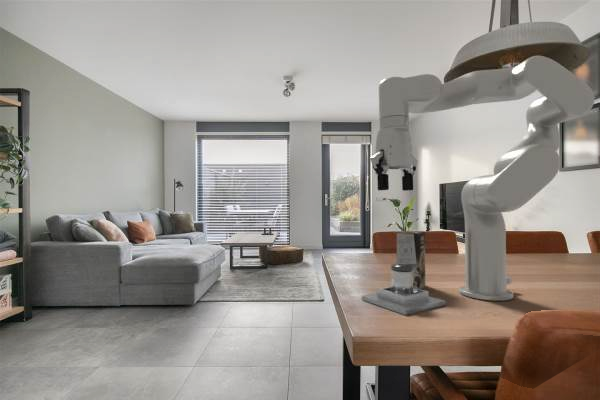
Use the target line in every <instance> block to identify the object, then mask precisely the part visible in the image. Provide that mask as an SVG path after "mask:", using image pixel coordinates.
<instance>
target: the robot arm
mask: <svg viewBox="0 0 600 400" xmlns="http://www.w3.org/2000/svg"><path fill="white" fill-rule="evenodd" d="M440 79H441V78H439V77H438V76H436V75H434V74H431V73H425V74H424V73H423V74H418V75H414V76H413V75H412V76H407V77H402V76H390V77H387V78H384V79H383V80H381V81H380V83H379V84H378V109H379V110H378V114H379V115H378V116H379V130H378V131H377V134H376V139H375V153H374V154H373V155H371V157H370V158H369V159H370V162H371V165H372V169H373V170H374V172H375V175H376V176H377V177H376V178H377V191H388V190H390V189H389V188H390V185H389V183H390V182H389V174H388V171H389V170H400V172H401V173H402V176H401V182H402V183H401V184H402V187H401V188H402V191H403V192H404V191H413V190H414V176H415V172H416V170H417V166H418V160H417V158H416V157H414V156H413V147H412V146H413V145H412V138H411V133H410V118H409V117H410V114H426V113H434V112H441V111H447V110H452V109H457V108H463V107H467V106H468V107H469V106H471V105H478V104H479V105H481V104H491V103H499V102H511V101H517V100H522V99H524V98H526V97H528V96H532V95H533V94H535V93H537V92H538V93H540V94H541V96H539V97H537V98H536V99H535V100H533V101H532V102H531V103H530V104H529V106H528V107H527V110H526V115H525V118H526V119H525V120H526V126H527V128H526V129H527V130H526V133H525V135H524V136H523V137H522V138H521V139H520V140H519V141H517V142H516V143H515V144H514V145H513V146H511V147H510V149H508V150H507V151H506V152H505V153H503V154H502V155H501V156H500V157H499V158H498V159H497V161H496V162H495V164H494V166H493V174H487V175H480V176H479V175H478V176H477V177H476V176H475V177H474V178H471V179H470V180H468V181H467V182H466V183H465V184H464V186H463V187H462V190H461V194H460V195H461V196H460V198H461V205H462V206H461V207H462V210H463V215H464V217H463V218H464V231H465V232H464V233H465V234H464V247H465V249H464V255H465V257H464V259H465V261H464V262H465V263H464V264H465V272H464V273H465V285H461V286H460V287H459V291H458V292H459V293H460V294H461V295H463V296H466V297H468V298H473V299H477V300H483V301H494V302H495V301H496V302H497V301H502V302H503V301H504V302H505V301H509V300H512V299H514V292H513V291H511V290H509V289H507V286H508V285H511V284H512V283H513V279H512V278H511V277H509V276H507V244H506V243H507V241H506V240H507V231H506V230H507V229H506V223H505V222H506V221H505V218H504V216H503V214H502V213H509V212H515V211H517V210H519V209H520V208H522V207H523V206H524V205H526V204H528V203H529V201H531V200H532V199H533V198H534V197H536V195H538V193H540V192H541V191H542V190H543V189H545V187H546V186H547V185H549V184H550V183H551V182H552V181H553V179H555V177H556V176H557V175H558V172H559V170H560V167H561V166H560V165H561V158H560V155H559V153H558V152H557V151H558V150H559V148H560V145H561V135H560V129H559V126H558V125H559V124H562V123H565V122H568V121H571V120H574V119H577V118H580V117H582V116H585V115H586V114H587V113H589V112H590V111H591V110H592V108H593V106H594V104H595V99H596V98H595V94H594V91H593V90H592V88H591V87H590V86H589V85H588V84H587V83H586V82H585V81H583V80H582V79H581V78H579V77H578V76H577V75H575V74H574V73H573V72H571V71H570V70H568V69H567V68H566V67H565V66H563V65H561V64H560V63H559V62H557V61H555V60H554V59H552V58H549V57H546V56H543V55H533V56H530V57H528V58H527V59H525V60H523V61H522V62H520V63H518V64H517V65H516V66H512V67H506V68H505V67H503V68H497V69H482V70H475V71H471V72H468V73H464V74H462V75H461V76H459V77H455V78H454V79H452V80H449V81H448V82H447V81H446V82H445V83H442V81H441V80H440ZM409 113H410V114H409Z"/></svg>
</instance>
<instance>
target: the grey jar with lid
mask: <svg viewBox="0 0 600 400" xmlns="http://www.w3.org/2000/svg"><path fill="white" fill-rule="evenodd" d="M390 270H391V286H392V292H394V293H397V294H401V295H408V294H413V266H412V265H408V264H397V263H392V264H391V265H390Z"/></svg>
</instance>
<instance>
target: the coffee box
mask: <svg viewBox="0 0 600 400" xmlns="http://www.w3.org/2000/svg"><path fill="white" fill-rule="evenodd" d="M396 264H408V265H412V266H413V288H417V289H421V290H423V288H425V286H426V232H425V231H406V230H405V231H400V232H396Z"/></svg>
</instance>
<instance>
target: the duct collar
mask: <svg viewBox="0 0 600 400" xmlns="http://www.w3.org/2000/svg"><path fill="white" fill-rule="evenodd" d="M429 292H430V291H428V290H425V289H417V288H413V294H408V295H401V294H397V293H394V292H392V285H390V286H385V287H379V288H377V289H376V292H374V293H371V294H370V293H369V294H364V295H361V301H364V302H367V303H370V304H372V305H375V306H378V307H381V308H383V309H387V310H389V311H392V312H395V313H398V314H400V315H403V316H407V315H409V316H410V315H411V314H416V313H419V312H424V311H428V310H431V309H435V308H439V307H443V306H446V304H447V303H446V300H444V299H440V298H437V297H433V296H430V294H429Z"/></svg>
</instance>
